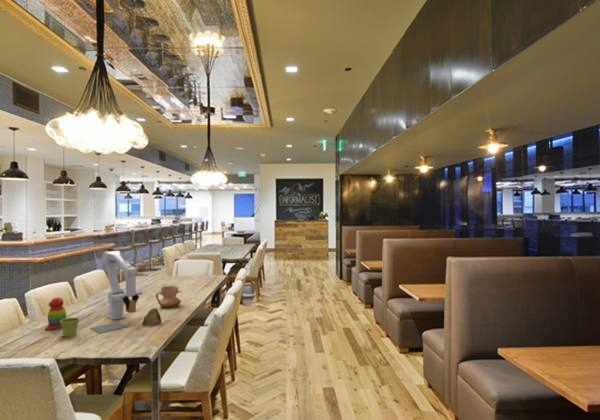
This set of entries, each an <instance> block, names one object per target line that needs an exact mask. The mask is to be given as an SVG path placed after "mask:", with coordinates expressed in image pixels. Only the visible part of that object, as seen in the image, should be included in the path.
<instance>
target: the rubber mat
mask: <svg viewBox="0 0 600 420" xmlns="http://www.w3.org/2000/svg"><path fill="white" fill-rule="evenodd" d="M124 328H129V326H128V325H126V324H123V323H121V322H118V321H115V322H110V323H106V324H105V323H104V324H101V325H98V326H93V327H90V328H89V330H92V331H94V332H95V333H98V334H104V333H108V332H113V331H117V330H121V329H124Z"/></svg>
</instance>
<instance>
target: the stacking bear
mask: <svg viewBox="0 0 600 420" xmlns="http://www.w3.org/2000/svg"><path fill="white" fill-rule="evenodd" d="M63 305H64V299H63V298H61V297H59V296H57V297H54V298H52V300H51V301H49V303H48V306H49V307H50V308H49V309H48V315H47V322H48V325H47V326H45V328H44V331H47V332H48V331H54V330H60V329H62V325H61V322H60V321H61V320H63V319H66V318H67V312H66V308H65V307H64V306H63Z"/></svg>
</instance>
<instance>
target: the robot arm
mask: <svg viewBox="0 0 600 420" xmlns="http://www.w3.org/2000/svg"><path fill="white" fill-rule="evenodd" d="M101 257H102V262H103V265H104V266H105V268H106V272H107V276H108V280H109V285H110V289H111V290H110V291H109V292H108V294H107V300H108V304H110V305H109V307H108V308H109V310H108V311H109V315H108V316H107V318H108V319H112V320H119V319H123V318H126V317H127V316H126V315H125V314H124V313H125V312H124V309H125V310H126V309H129V300H130V297H131V299H132V300H135V301H136V303H137V302H138V300H139V298H140V296H142V295H143V291H142V290H140V291H136V289H137V288H136V287H137V286H136V280H137V278H136V276H138V273H139V270H138V268H137V267H136V266H132V265H131V264H130V263H129V261H127V260H124V259H123V257H122V253H121V252H120V250H113V251H104V252H103V254H102V256H101ZM117 264H118V265H119V266H118V267H119V268H120V269H121V271H122V272H123V275H124V280H125V290H124V289H123V288H121V287H120V282H119V278H118V274H117V269H116V265H117ZM124 305H125V307H124Z"/></svg>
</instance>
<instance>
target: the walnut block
mask: <svg viewBox="0 0 600 420" xmlns="http://www.w3.org/2000/svg"><path fill="white" fill-rule="evenodd" d="M125 312H127V313H129V314H133V313H136V312H137V302H136V301H135V300H132V298H131V299H130V298H129V309H126V308H125Z"/></svg>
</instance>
